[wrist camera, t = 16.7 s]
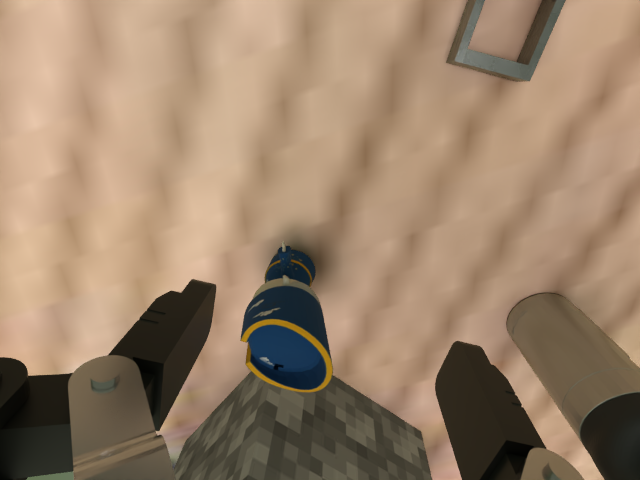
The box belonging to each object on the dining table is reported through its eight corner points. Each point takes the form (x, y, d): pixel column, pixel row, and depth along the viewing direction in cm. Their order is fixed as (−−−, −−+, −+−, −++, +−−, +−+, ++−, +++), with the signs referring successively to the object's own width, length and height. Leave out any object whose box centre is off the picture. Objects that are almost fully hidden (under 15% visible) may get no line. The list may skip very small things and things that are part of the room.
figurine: (261, 222, 47) (211, 310, 29) (332, 217, 46) (327, 305, 28) (274, 304, 52) (238, 423, 34) (338, 301, 51) (337, 421, 33)
